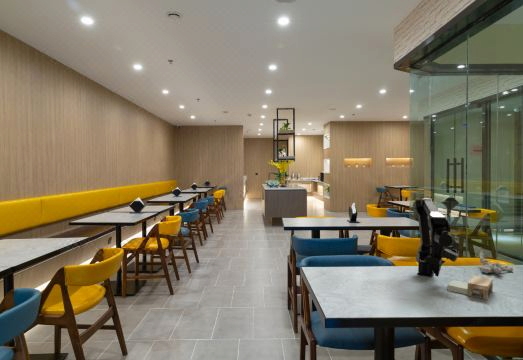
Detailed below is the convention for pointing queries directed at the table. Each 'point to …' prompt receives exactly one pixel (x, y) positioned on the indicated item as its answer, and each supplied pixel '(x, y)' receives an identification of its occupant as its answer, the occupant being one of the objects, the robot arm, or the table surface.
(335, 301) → the table surface
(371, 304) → the table surface
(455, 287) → the cream rectangular block
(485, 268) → the anatomical model
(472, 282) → the wooden block
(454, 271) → the table surface
